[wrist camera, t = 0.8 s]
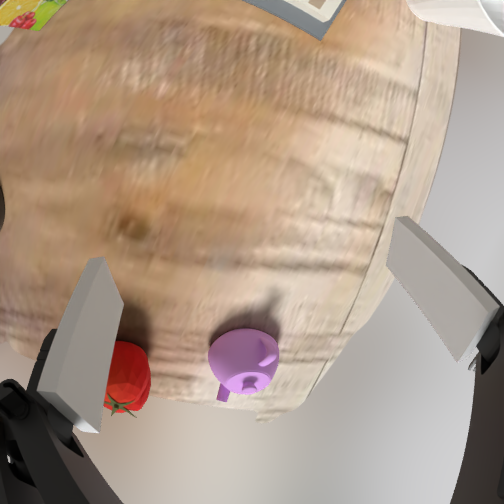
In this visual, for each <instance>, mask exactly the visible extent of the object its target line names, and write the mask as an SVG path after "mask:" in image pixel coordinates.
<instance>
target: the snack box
mask: <svg viewBox="0 0 504 504" xmlns="http://www.w3.org/2000/svg"><path fill="white" fill-rule="evenodd" d="M67 1H68V0H0V26H8V27H15V28H22V29H28V30H34V31H39V30H40V29H41V28H42V27H43V26H44V25H45V24H46V22H47V21H48V20H49V19H50V18H51V17H52V16H53V15H54V14H55V13H56V12H57V11H58V10H59V9H60V8H61V7H62V6H63V5H64V4H65V3H66V2H67Z"/></svg>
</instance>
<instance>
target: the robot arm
mask: <svg viewBox="0 0 504 504" xmlns="http://www.w3.org/2000/svg"><path fill="white" fill-rule="evenodd" d="M4 215H5V207H4V200H3V195H2V191H1V188H0V230H1V228H2V226H3V222H4ZM386 266H387V267H388V269H389V270H390V271H391V272H392V274H393V275H394V276H395V277H396V279H397V280H398V281H399V282H400V284H401V285H402V286H403V287H404V289H405V290H406V291H407V293H408V294H409V295H410V296H411V298H412V299H413V300H414V302H415V303H416V305H417V306H418V307H419V308H420V310H421V311H422V313H423V314H424V315H425V317H426V318H427V320H428V321H429V322H430V324H431V325H432V326H433V328H434V329H435V330H436V332H437V334H438V335H439V337H440V338H441V339H442V341H443V342H444V344H445V345H446V347H447V348H448V350H449V351H450V353H451V354H452V356H453V357H454V359H455V360H456V362H457V363H458V362H460V361H462V360H464V359H466V358H468V357H469V356H470V355H471V354H472V352H473V350H474V349H475V348H476V347H477V348H478V350H479V353H478V354H477V355H476V357H475V358H474V359H473V361H472V362H471V364H470V365H469V368H468V370H471V368H472V367H473V365H474V364H476V367H475V368H474V370H473V371H475V386H474V396H473V406H472V414H471V421H470V426H469V432H468V438H467V443H466V448H465V452H464V457H463V461H462V465H461V469H460V473H459V476H458V480H457V484H456V487H455V490H454V493H453V496H452V499H451V502H450V504H504V306H503V304H501V302H500V301H499V300H498V299H497V298H496V297H495V296H494V294H493V293H492V292H491V291H490V290H489V289H488V288H487V287H486V286H484V284H483V282H482V281H481V280H479V279H478V277H477V276H476V275H475V274H474V273H473V272H472V271H471V270H469V269H468V268H466V267H465V266H463V265H461V264H460V263H459V262H458V261H457V260H456V259H454V257H453V256H452V255H450V254H449V253H448V252H447V251H446V250H445V249H444V248H443V247H442V246H441V245H440V244H439V243H438V242H436V240H434V239H433V238H432V237H431V236H430V235H429V234H428V233H427V232H426V231H424V230H423V229H422V228H421V227H420V226H419V225H418V224H416V223H415V222H414V221H413V220H412V219H411V218H409V217H408V216H403V217H395V222H394V228H393V233H392V238H391V243H390V248H389V253H388V257H387V262H386ZM123 306H124V303H123V301H122V299H121V296H120V294H119V292H118V289H117V287H116V285H115V282H114V280H113V277H112V275H111V273H110V270H109V268H108V265H107V262H106V260H105V257H98V258H92V259H89V261H88V263H87V265H86V267H85V269H84V271H83V273H82V275H81V277H80V279H79V281H78V283H77V285H76V287H75V290H74V292H73V294H72V296H71V298H70V301H69V303H68V305H67V308H66V310H65V312H64V315H63V317H62V319H61V322H60V324H59V327H58V329H52V330H51V331H50V332H49V334H48V335H47V336H46V337H45V339H44V341H43V344H42V346H41V349H40V352H39V354H38V357H37V361H36V363H35V365H34V368H33V371H32V374H31V377H30V380H29V383H28V387H27V390H25V389H24V388H23V387H22V386H21V385H20V384H19V383H18V382H17V381H15V380H13V379H7V380H4V381H3V382H1V383H0V504H123V503H122V502H121V500H120V499H119V498H118V496H117V495H116V494H115V493H114V491H113V490H112V489H111V488H110V486H109V485H108V483H107V482H106V481H105V479H104V478H103V477H102V475H101V474H100V472H99V471H98V469H97V468H96V467H95V465H94V464H93V462H92V461H91V459H90V458H89V456H88V454H87V453H86V451H85V450H84V448H83V446H82V445H81V443H80V442H79V440H78V438H77V437H76V435H75V434H74V433H73V432H72V430H73V425H75V426H76V427H77V428H78V429H80V430H81V431H82V432H92V433H100V427H101V420H102V412H103V405H104V399H105V392H106V386H107V380H108V375H109V369H110V364H111V359H112V354H113V349H114V344H115V340H116V335H117V331H118V327H119V322H120V318H121V314H122V310H123ZM7 455H8V456H9V457H10V463H9V462H8V458H7Z"/></svg>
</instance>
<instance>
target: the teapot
mask: <svg viewBox="0 0 504 504" xmlns="http://www.w3.org/2000/svg"><path fill="white" fill-rule="evenodd" d="M208 360H209V364H210V367H211V370H212V372H213V373H214V375H215V376H216V378H217V379H218V380H219V381H220V382H221V384H220V387H219V391H218V395H217V400H219V401H223V402H227V400H228V396H229V393H230V391H231V392H234V393H238V394H253V393H255V392H258V391H260V390H262V389H264V388H265V387H267V386H268V385H269V383H270V382H271V380H272V378H273V376H274V374H275V372H276V369H277V366H278V362H279V348H278V344H277V342H276V341H275V340H274V339H273V338H272V337H271V336H270V335H268V334H266V333H264V332H262V331H259V330H256V329H250V328H242V329H235V330H232V331H229V332H227V333H225V334H223V335H222V336H220V337H219V338H218V339H217V340H216V341H215V342H214V343H213V344H212V345H211V347H210V349H209V352H208Z"/></svg>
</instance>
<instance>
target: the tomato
mask: <svg viewBox="0 0 504 504" xmlns="http://www.w3.org/2000/svg"><path fill="white" fill-rule="evenodd" d="M150 387H151V373H150V368H149V364H148V358H147V356H146V354H145V352H144V351H143V349H142V348H141V347H139V346H137V345H135V344H133V343H130V342H124V341H115V344H114V349H113V354H112V359H111V364H110V369H109V375H108V380H107V386H106V392H105V399H104V405H103V406H104V407H106V408H108V409H110V410H112V415H113V414H114V413H115V412H118V413H123V412H128V413H130V414H131V415H133V414H132V413H131V412H130V411H129V410H133V411H138V410H140V409H141V408H142V407H143V405H144V404H145V402H146V401H147V398H148V395H149V391H150ZM112 415H111V416H112ZM133 416H134V415H133Z"/></svg>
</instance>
